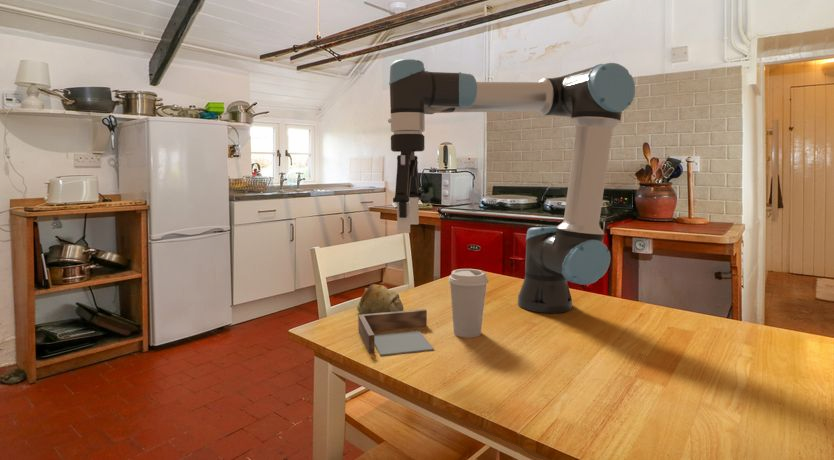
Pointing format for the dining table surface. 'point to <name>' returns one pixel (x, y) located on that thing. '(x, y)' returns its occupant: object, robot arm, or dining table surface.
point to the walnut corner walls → (388, 323)
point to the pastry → (379, 300)
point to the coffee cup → (467, 301)
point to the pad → (401, 343)
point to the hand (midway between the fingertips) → (408, 228)
